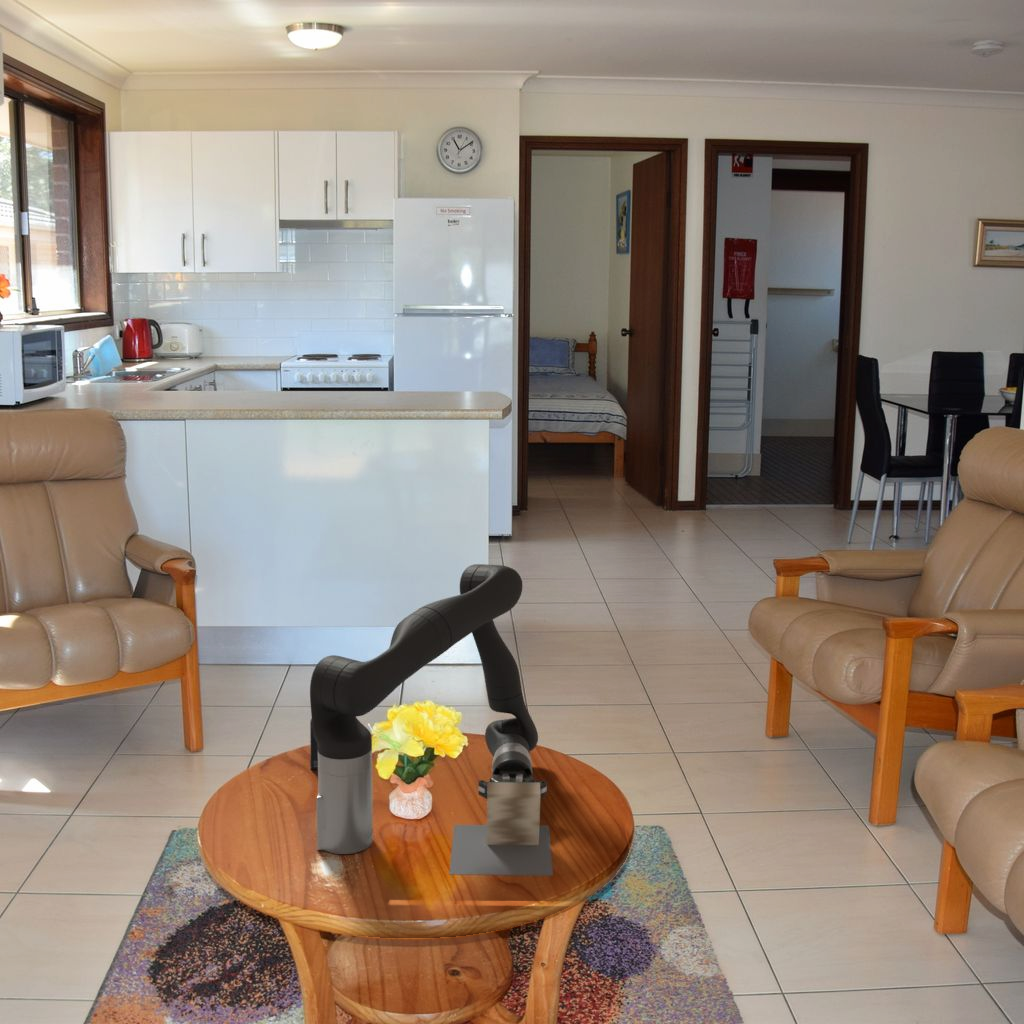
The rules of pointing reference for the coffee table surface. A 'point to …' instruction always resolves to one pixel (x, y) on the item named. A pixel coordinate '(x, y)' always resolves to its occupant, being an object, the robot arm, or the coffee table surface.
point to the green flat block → (513, 813)
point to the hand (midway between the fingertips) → (513, 809)
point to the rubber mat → (498, 854)
